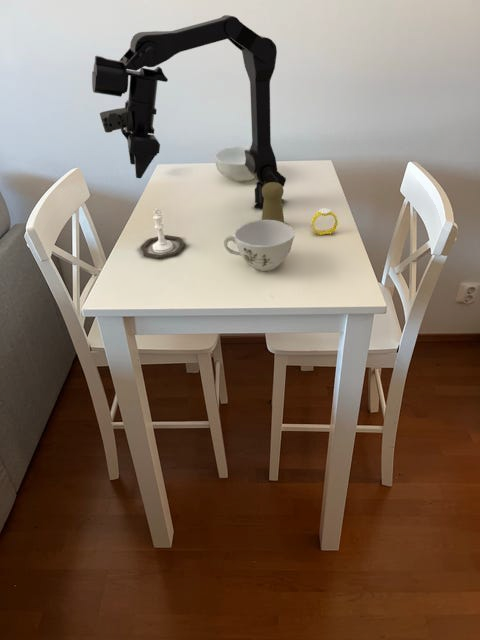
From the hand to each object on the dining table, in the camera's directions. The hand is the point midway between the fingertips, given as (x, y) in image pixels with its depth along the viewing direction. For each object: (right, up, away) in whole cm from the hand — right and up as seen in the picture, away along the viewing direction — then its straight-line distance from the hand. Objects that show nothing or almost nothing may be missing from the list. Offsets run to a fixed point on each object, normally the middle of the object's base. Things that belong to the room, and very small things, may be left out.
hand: (135, 170), depth 110 cm
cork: (+33, -12, +7) cm, 36 cm away
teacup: (+29, -23, -7) cm, 37 cm away
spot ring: (+6, -18, +1) cm, 19 cm away
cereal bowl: (+26, +9, +35) cm, 44 cm away
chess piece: (+6, -18, +1) cm, 19 cm away
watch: (+45, -14, +3) cm, 47 cm away
